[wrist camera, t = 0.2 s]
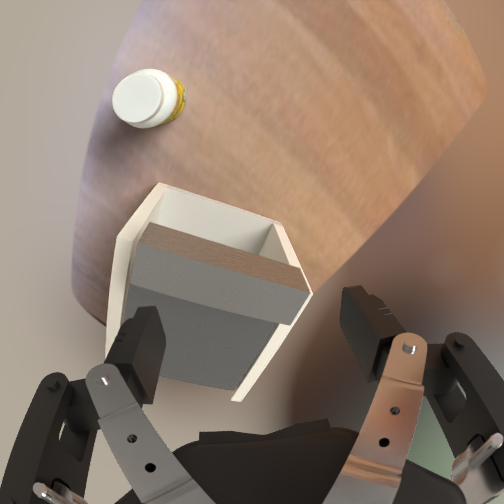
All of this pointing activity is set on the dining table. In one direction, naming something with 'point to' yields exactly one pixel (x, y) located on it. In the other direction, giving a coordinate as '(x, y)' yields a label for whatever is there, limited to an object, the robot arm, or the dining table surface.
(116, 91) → the supplement bottle
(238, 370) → the trapdoor
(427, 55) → the dining table surface
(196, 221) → the trapdoor stand
